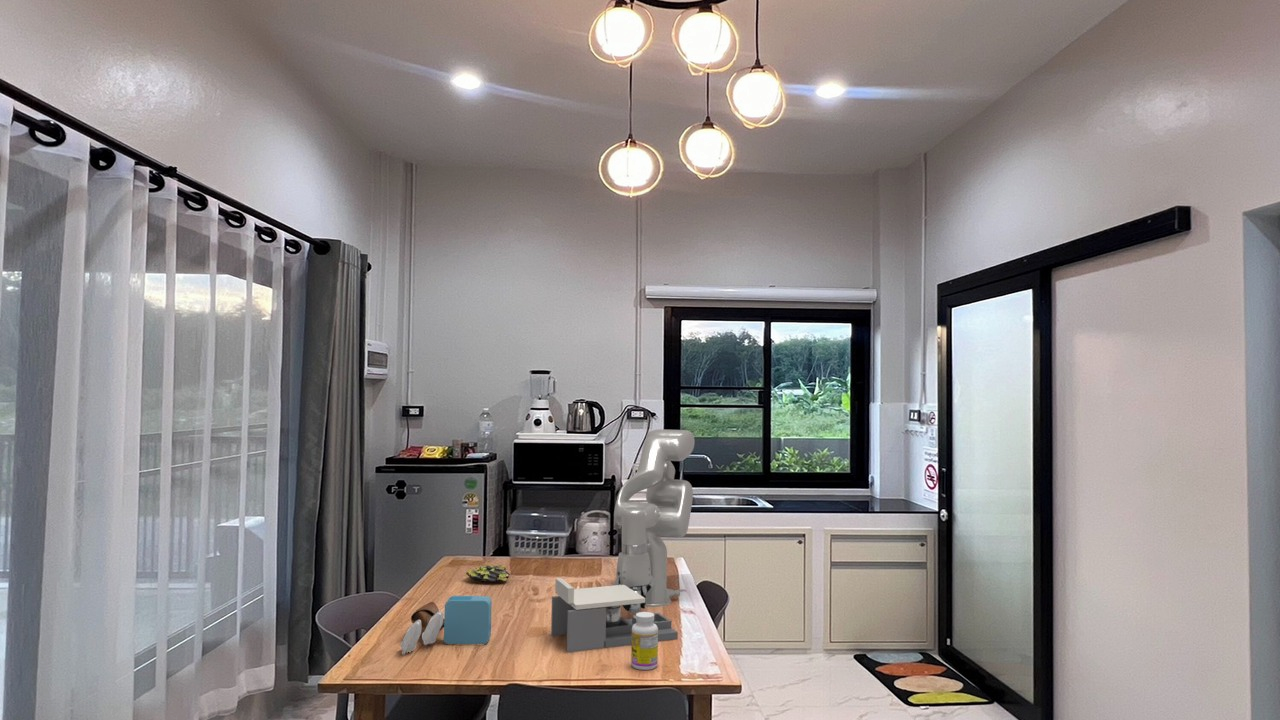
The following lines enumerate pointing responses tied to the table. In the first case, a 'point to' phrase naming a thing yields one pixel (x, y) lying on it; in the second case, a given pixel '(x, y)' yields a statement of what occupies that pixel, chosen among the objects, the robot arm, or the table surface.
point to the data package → (467, 620)
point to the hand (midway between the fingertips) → (634, 607)
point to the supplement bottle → (644, 642)
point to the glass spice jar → (613, 616)
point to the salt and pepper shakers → (427, 635)
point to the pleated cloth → (489, 573)
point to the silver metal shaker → (635, 607)
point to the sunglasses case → (425, 614)
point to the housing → (598, 627)
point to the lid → (596, 595)
